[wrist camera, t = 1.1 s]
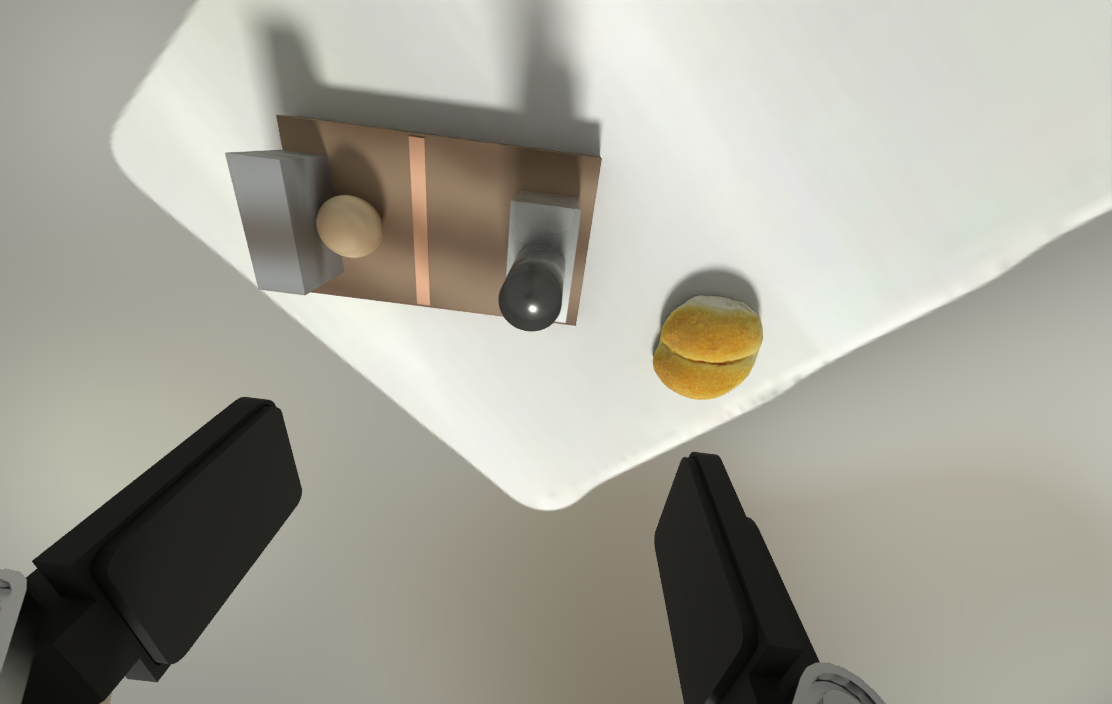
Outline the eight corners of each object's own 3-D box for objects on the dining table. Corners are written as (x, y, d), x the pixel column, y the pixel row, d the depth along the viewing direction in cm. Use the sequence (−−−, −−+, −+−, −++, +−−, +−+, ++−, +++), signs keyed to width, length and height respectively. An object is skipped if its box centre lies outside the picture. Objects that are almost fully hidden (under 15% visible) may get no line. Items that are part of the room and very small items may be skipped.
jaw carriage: (521, 190, 27) (490, 220, 17) (580, 198, 27) (583, 232, 17) (513, 289, 30) (485, 361, 21) (567, 296, 30) (562, 370, 21)
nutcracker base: (295, 116, 28) (214, 111, 21) (600, 156, 28) (606, 163, 22) (323, 283, 33) (265, 317, 27) (575, 315, 34) (575, 356, 27)
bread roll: (643, 381, 37) (650, 407, 33) (669, 287, 32) (680, 306, 29) (733, 392, 37) (749, 420, 33) (770, 301, 33) (793, 321, 29)
